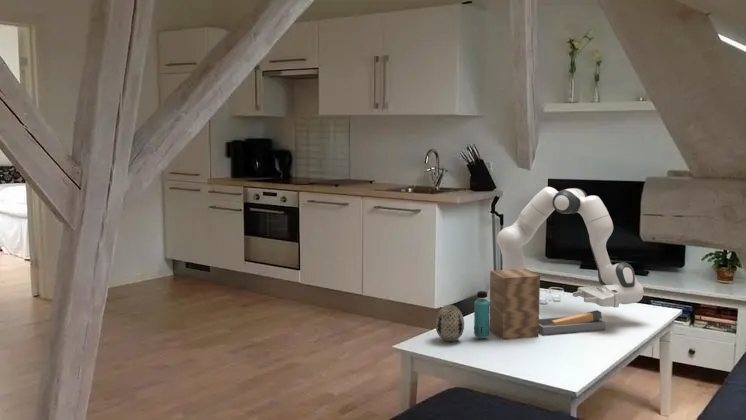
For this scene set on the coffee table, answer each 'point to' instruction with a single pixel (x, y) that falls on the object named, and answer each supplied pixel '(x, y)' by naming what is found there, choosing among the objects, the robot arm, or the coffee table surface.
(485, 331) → the beverage bottle
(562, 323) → the marker
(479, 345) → the coffee table surface
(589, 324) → the tray
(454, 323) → the decorative egg
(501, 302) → the stand
